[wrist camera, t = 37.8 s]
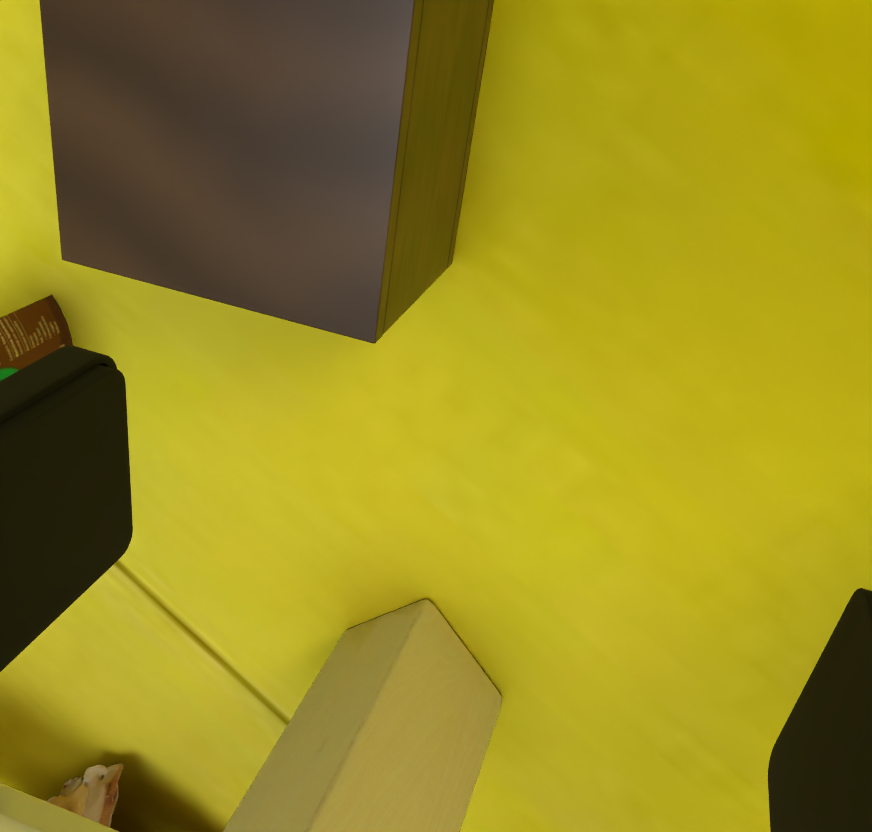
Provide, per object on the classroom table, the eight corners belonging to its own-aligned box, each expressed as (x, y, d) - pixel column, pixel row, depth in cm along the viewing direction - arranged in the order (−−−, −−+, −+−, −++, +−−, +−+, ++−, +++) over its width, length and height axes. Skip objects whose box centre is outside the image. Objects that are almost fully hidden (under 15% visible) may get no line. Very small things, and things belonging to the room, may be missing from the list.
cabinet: (198, -140, 32) (23, -181, 24) (508, -92, 30) (428, -119, 22) (198, 202, 39) (61, 260, 31) (452, 264, 37) (374, 344, 29)
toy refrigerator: (332, 630, 49) (110, 995, 32) (426, 592, 46) (237, 980, 28) (408, 726, 51) (239, 1123, 33) (505, 697, 48) (373, 1123, 30)
